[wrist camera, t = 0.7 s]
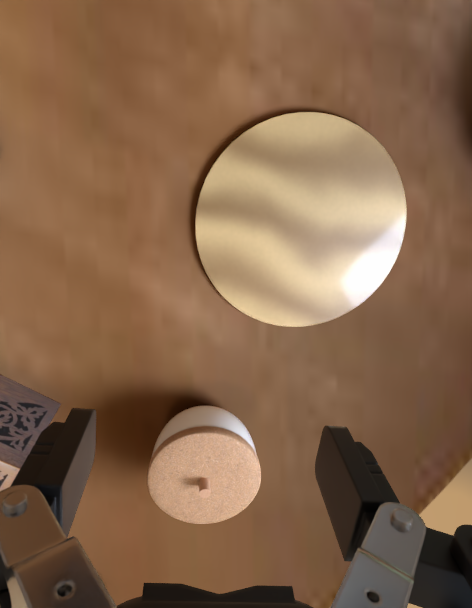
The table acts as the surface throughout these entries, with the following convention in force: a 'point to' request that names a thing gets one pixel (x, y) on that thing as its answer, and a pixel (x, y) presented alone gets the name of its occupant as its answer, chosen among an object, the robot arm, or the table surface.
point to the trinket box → (204, 466)
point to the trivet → (300, 219)
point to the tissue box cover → (20, 425)
